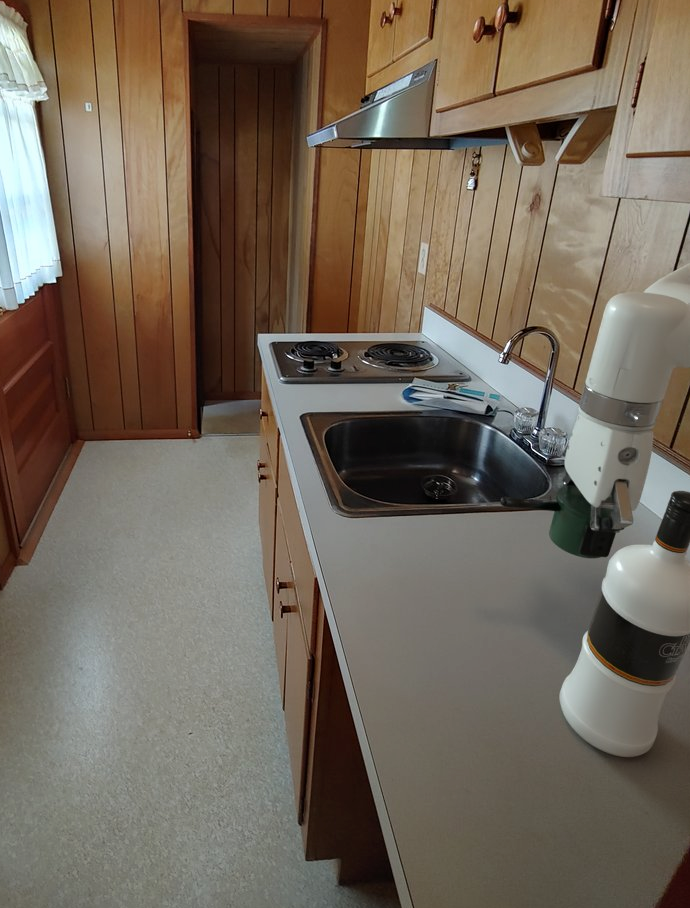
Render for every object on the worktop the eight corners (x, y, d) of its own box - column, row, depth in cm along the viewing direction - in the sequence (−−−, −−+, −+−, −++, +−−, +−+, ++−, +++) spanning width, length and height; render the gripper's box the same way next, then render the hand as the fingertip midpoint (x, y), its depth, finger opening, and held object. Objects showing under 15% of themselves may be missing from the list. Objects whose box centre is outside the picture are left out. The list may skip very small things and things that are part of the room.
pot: (596, 526, 72) (608, 487, 70) (621, 563, 65) (635, 521, 63) (486, 516, 74) (495, 477, 71) (500, 551, 67) (510, 510, 65)
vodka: (569, 670, 68) (639, 459, 56) (657, 716, 62) (756, 494, 51) (547, 724, 61) (621, 498, 49) (644, 781, 56) (754, 542, 44)
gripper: (700, 444, 53) (646, 587, 60) (619, 378, 69) (584, 497, 76) (617, 438, 54) (574, 579, 61) (556, 374, 70) (527, 492, 77)
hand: (580, 533), depth 69 cm, fingers closed on pot, 7 cm apart
